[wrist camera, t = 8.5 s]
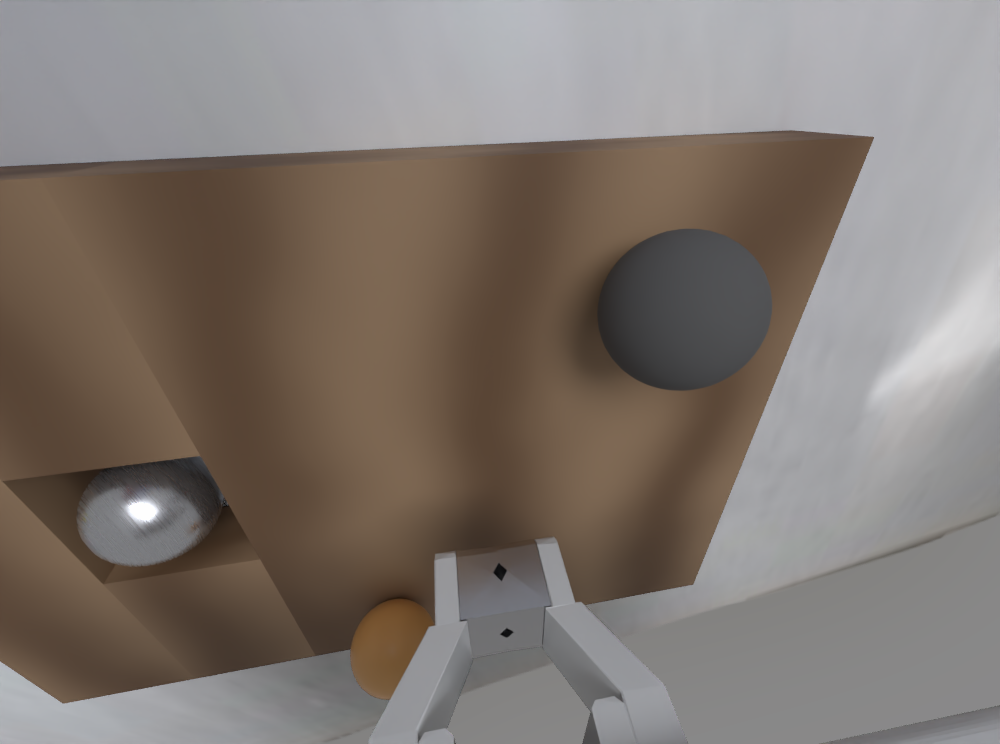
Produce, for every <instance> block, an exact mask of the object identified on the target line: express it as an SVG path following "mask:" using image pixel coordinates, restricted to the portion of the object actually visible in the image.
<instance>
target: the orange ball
mask: <svg viewBox="0 0 1000 744" xmlns="http://www.w3.org/2000/svg"><path fill="white" fill-rule="evenodd" d="M429 626H434V622H433V620H432V618H431V616H430V615H429V613H428V612H427V611H426V610H425V609H424V608H423V607H422V606H421V605H419V604H418V603H416V602H414V601H411V600H408V599H391V600H388V601H385V602H383V603H380V604H379V605H377V606H376V607H374V608H373V609H372V610H371V611H369V612H368V613H367V614H366V616H365V617H364V618H363V619H362V621H361V622H360V624H359V625H358V627H357V629H356V632H355V634H354V637H353V640H352V644H351V652H350V659H351V667H352V671H353V674H354V677H355V679H356V681H357V682H358V684H359V685H360V686H361V688H362V689H363V690H364V691H366V692H367V693H368V694H370V695H371V696H373V697H376V698H379V699H384V700H390V699H391V697H392V695H393V693H394V691H395V689H396V687H397V686H398V684H399V682H400V680H401V678H402V676H403V674H404V672H405V671H406V669H407V667H408V665H409V663H410V661H411V659H412V657H413V655H414V654H415V652H416V650H417V648H418V646H419V644H420V642H421V640H422V639H423V637H424V635H425V633H426V631H427V629H428V627H429Z"/></svg>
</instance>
